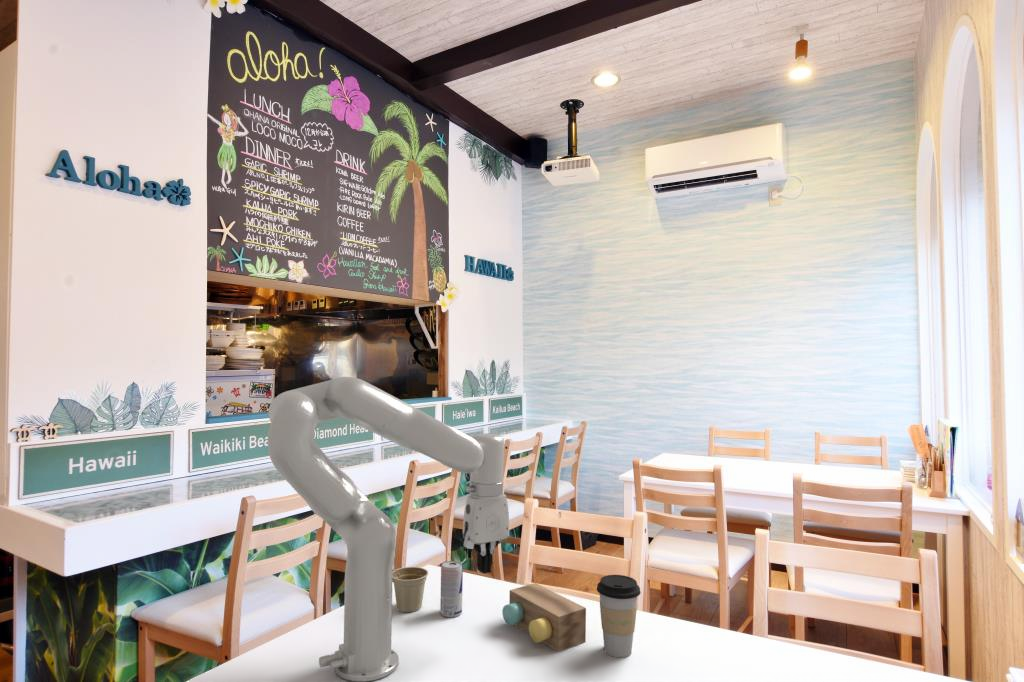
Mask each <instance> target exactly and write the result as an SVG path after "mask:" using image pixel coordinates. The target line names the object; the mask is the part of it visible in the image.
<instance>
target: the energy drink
mask: <svg viewBox="0 0 1024 682" xmlns="http://www.w3.org/2000/svg"><path fill="white" fill-rule="evenodd" d="M463 570H464V568H463V563H462V562H460V561H455V560H448V561H445V562H443V563H442V564H441V567H440V607H439V608H440V609H439V610H440V615H441V616H442V617H444V618H450V619H451V618H458V617H459V616H461V614H462V613H463V579H464V578H463V577H464V576H463V574H464V572H463Z"/></svg>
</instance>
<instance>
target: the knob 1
mask: <svg viewBox="0 0 1024 682" xmlns="http://www.w3.org/2000/svg"><path fill="white" fill-rule="evenodd" d="M501 614H502V618H503V620H504V622H505V624H506V625H507V626H513V625H514V624H516V623H520V622H522V621H523V619H524V611H523V608H522V606H521V604H520V603H518V602H515V603H512V604H509V603H508V604H505V605H504V606H503V607H502V613H501Z"/></svg>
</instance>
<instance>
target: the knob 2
mask: <svg viewBox="0 0 1024 682" xmlns="http://www.w3.org/2000/svg"><path fill="white" fill-rule="evenodd" d="M529 633H530V634H529V635H530V638H531V640H532V641H533V642H534V643H540V642H541V641H543V640H546V639H549V638H550V637H551V635H552V627H551V624H550V622H549V621H548V619H547V618H545V617H542V618H539V619H536V620H533V621H531V622H530V624H529Z"/></svg>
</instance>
